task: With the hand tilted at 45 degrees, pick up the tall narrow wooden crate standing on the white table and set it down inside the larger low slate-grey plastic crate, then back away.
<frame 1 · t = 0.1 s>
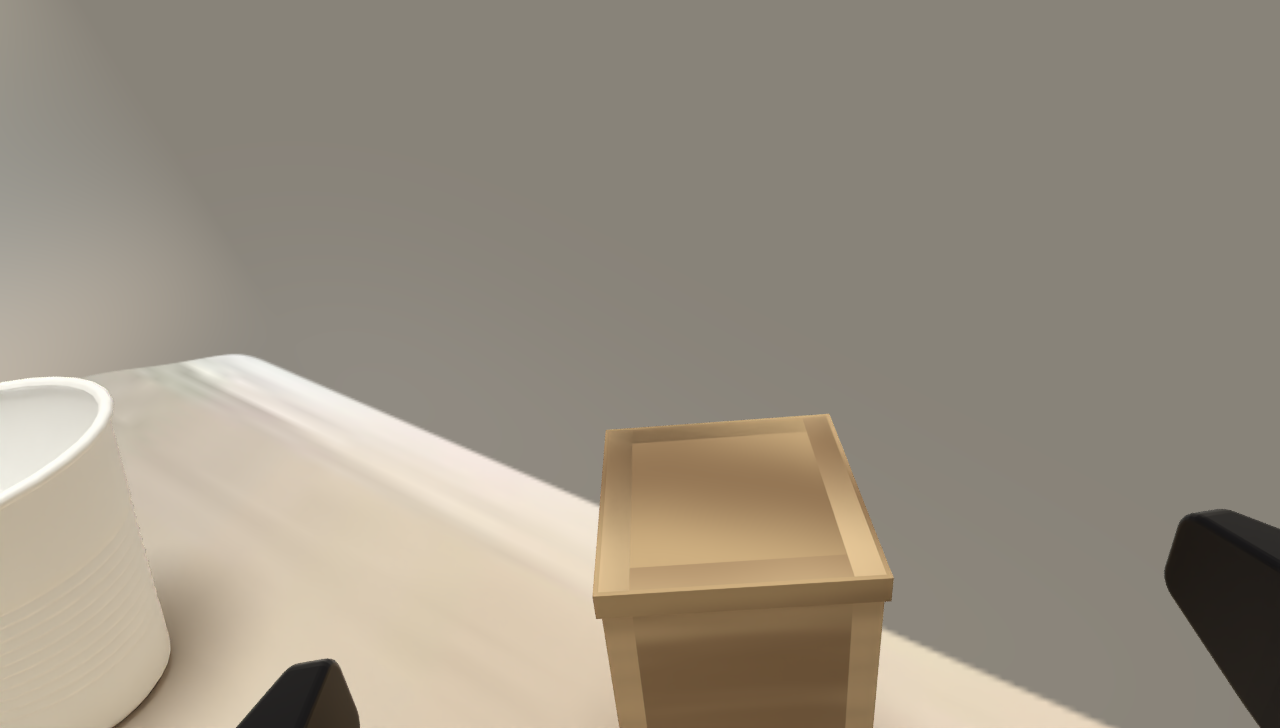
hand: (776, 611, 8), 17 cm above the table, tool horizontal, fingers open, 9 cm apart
cup: (87, 694, 29), on the table
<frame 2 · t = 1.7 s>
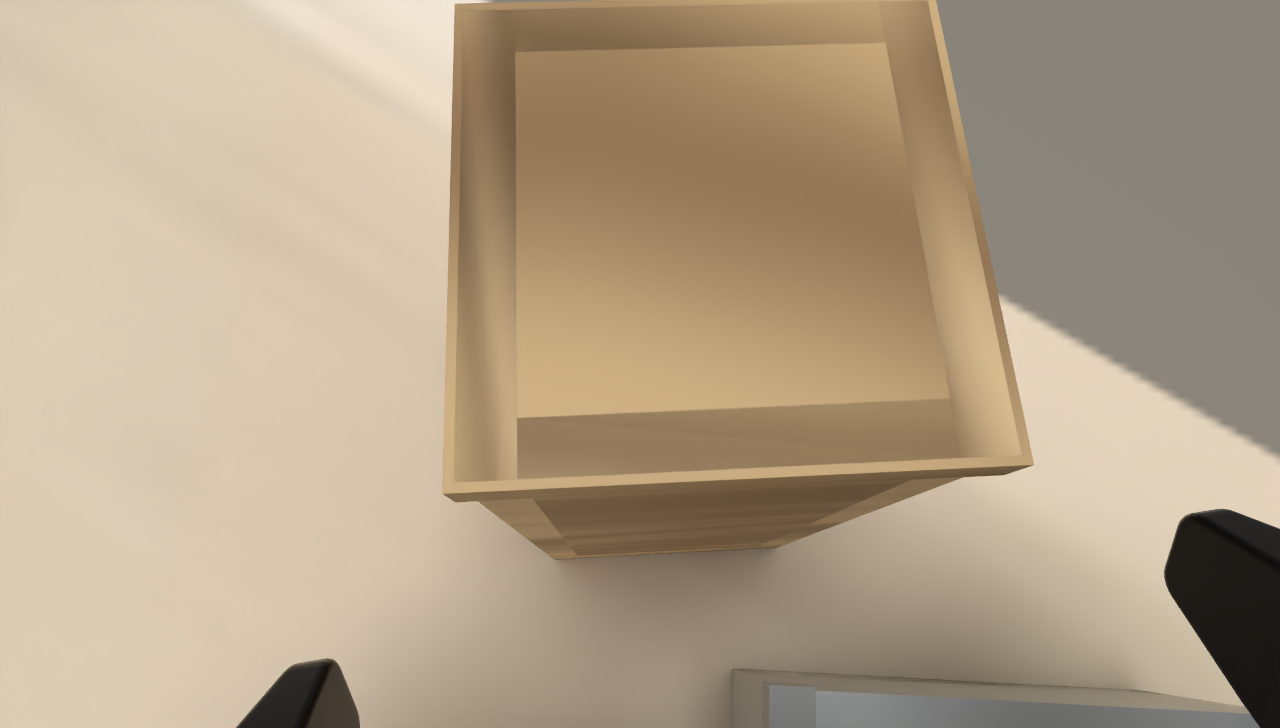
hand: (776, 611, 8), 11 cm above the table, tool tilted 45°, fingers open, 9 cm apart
small crate: (659, 443, 20), on the table
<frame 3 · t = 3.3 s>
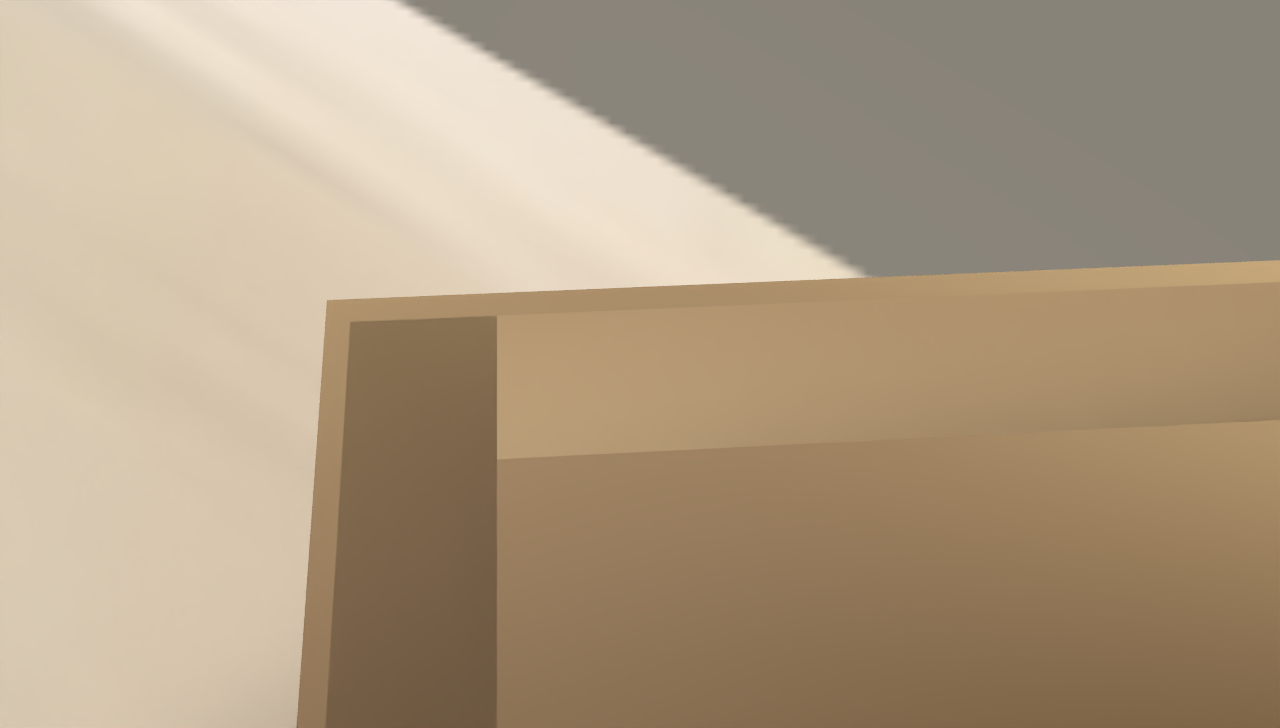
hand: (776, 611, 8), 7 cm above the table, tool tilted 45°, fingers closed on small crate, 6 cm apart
small crate: (718, 686, 14), on the table, touching gripper
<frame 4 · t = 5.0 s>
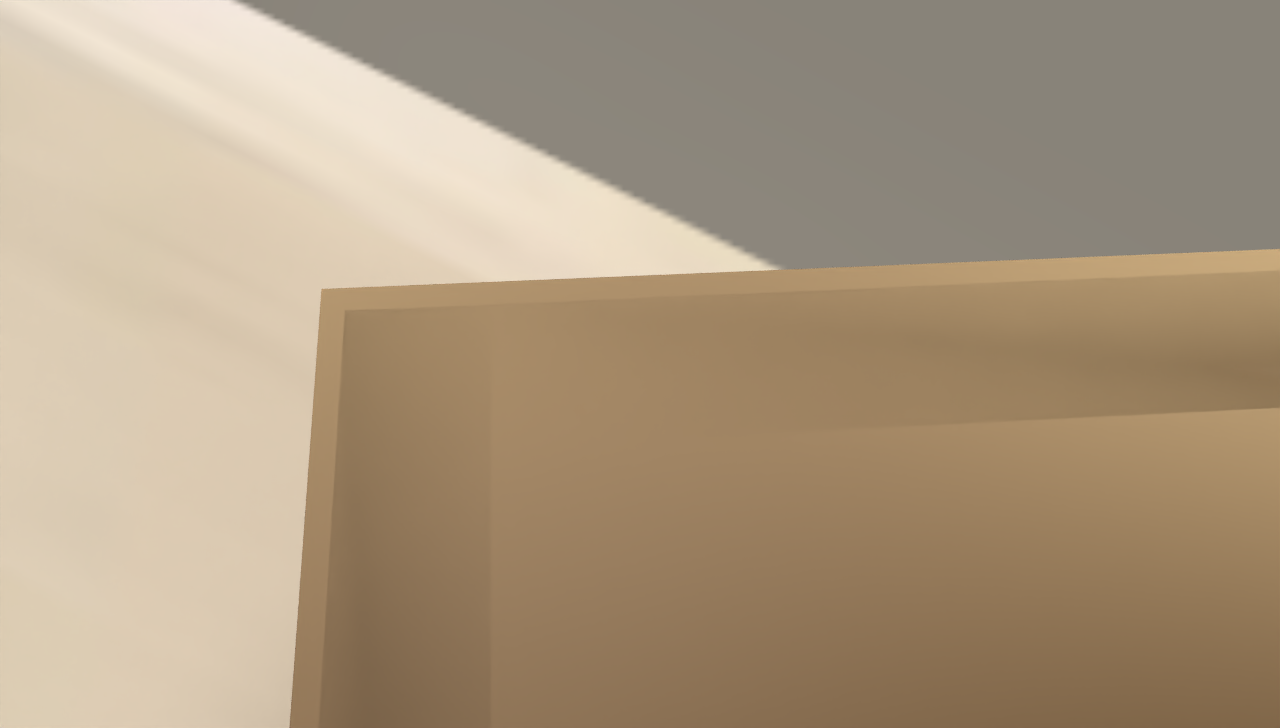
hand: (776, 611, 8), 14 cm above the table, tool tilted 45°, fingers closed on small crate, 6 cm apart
small crate: (716, 684, 14), point 7 cm above the table, touching gripper
when the fingers open (9 cm above the table, at t = 6.7 s): small crate drops 1 cm, resting on large crate.
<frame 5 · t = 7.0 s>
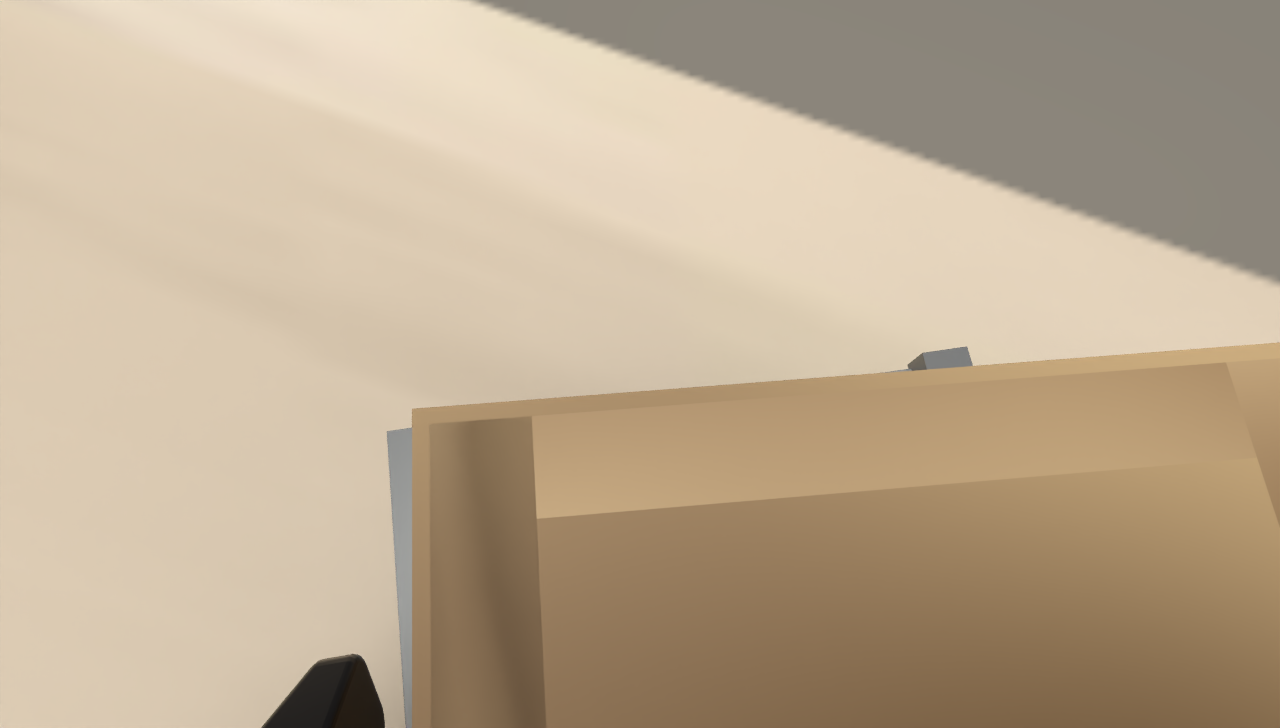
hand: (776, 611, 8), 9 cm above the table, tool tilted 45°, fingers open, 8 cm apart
large crate: (704, 672, 16), on the table
small crate: (709, 678, 15), point 1 cm above the table, touching large crate
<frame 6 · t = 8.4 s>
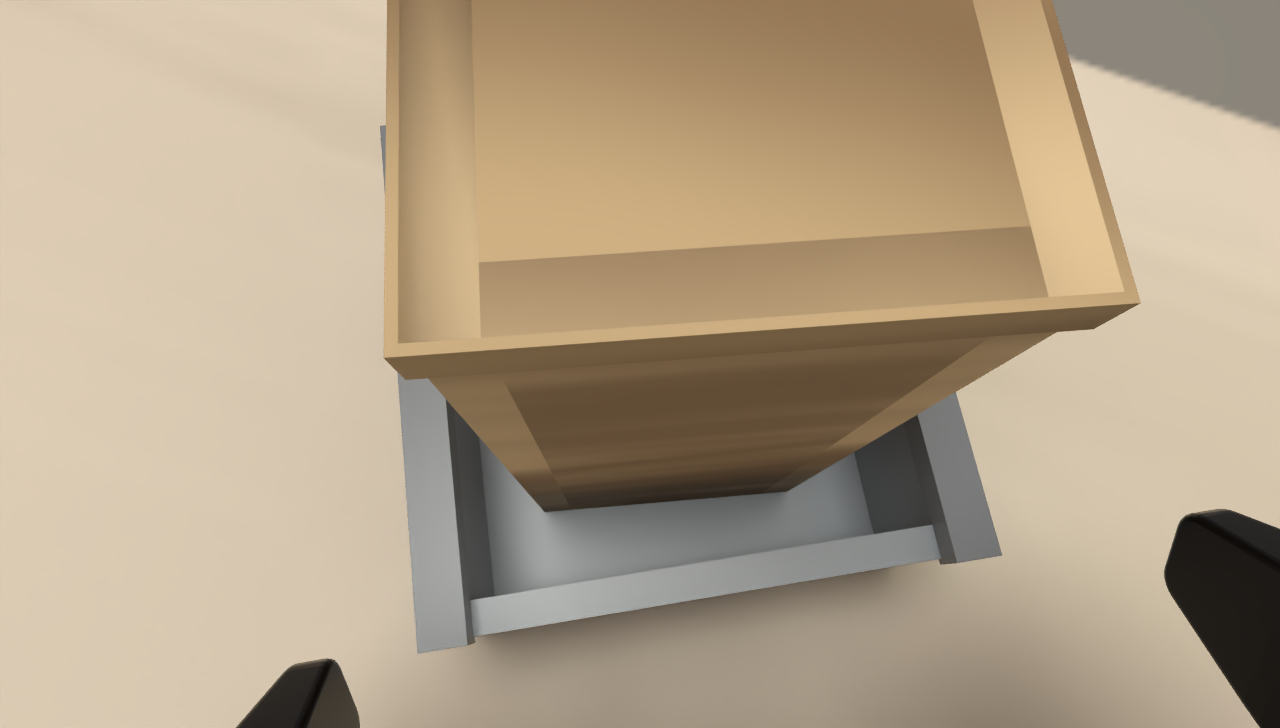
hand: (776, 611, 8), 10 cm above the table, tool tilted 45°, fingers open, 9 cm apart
large crate: (654, 394, 19), on the table
small crate: (655, 384, 18), point 1 cm above the table, touching large crate
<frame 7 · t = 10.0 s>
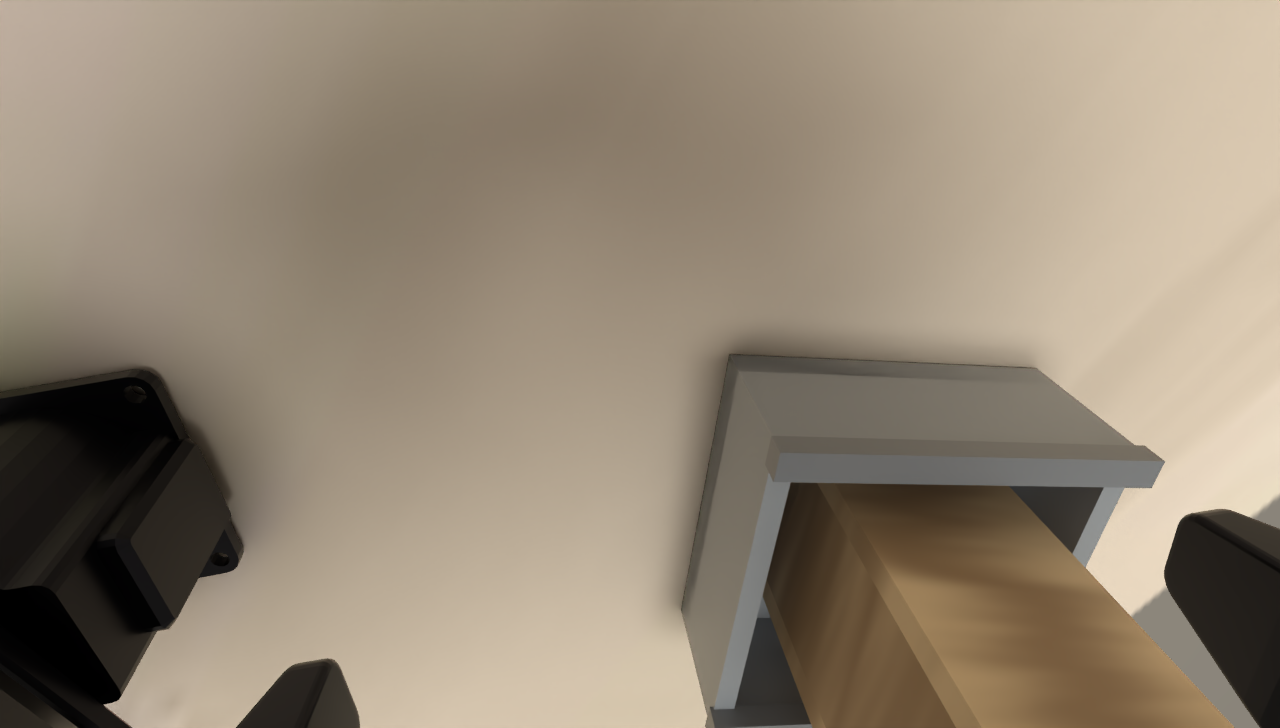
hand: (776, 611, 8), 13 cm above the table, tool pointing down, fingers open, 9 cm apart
large crate: (849, 495, 25), on the table
small crate: (861, 514, 24), point 1 cm above the table, touching large crate
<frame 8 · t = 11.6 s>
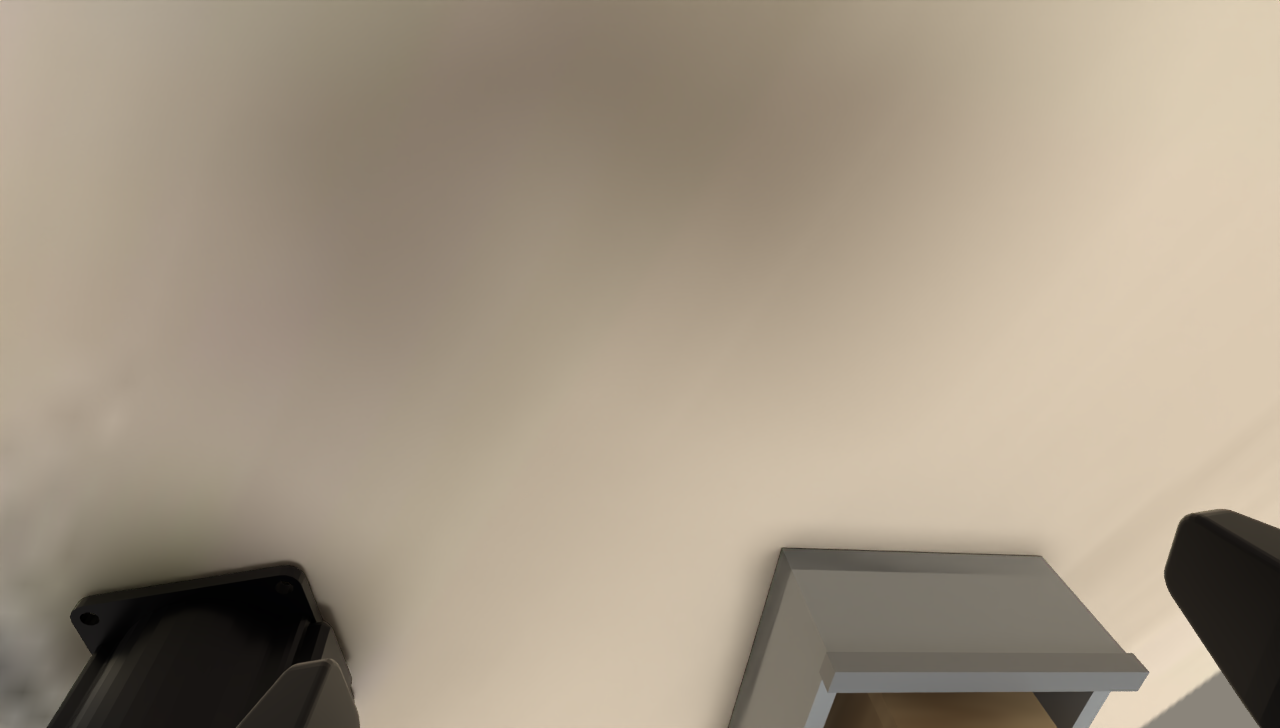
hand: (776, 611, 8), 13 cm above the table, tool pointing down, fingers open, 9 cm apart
large crate: (875, 654, 28), on the table
small crate: (886, 676, 27), point 1 cm above the table, touching large crate
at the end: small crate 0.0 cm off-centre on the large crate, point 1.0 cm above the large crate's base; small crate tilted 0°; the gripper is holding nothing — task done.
